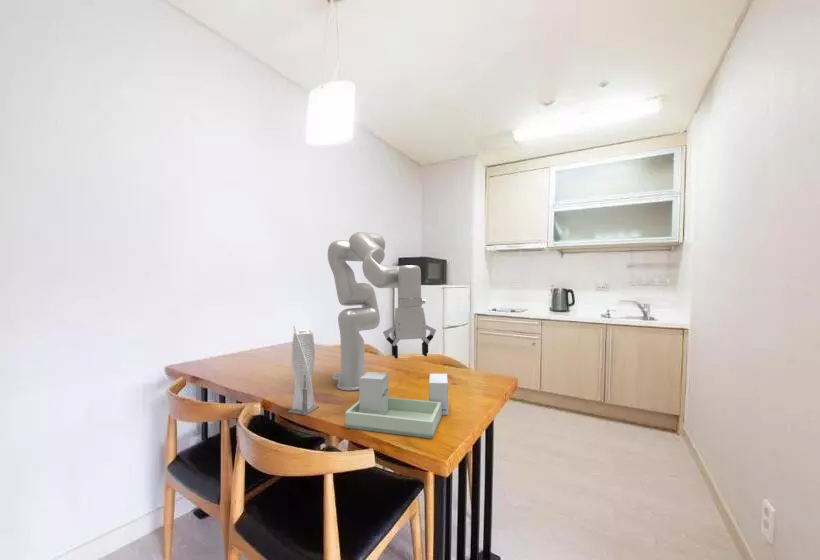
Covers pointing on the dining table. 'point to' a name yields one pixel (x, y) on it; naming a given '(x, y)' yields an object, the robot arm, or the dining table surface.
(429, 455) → the dining table surface
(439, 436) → the dining table surface
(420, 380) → the dining table surface
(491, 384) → the dining table surface
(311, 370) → the skyscraper
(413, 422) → the tray
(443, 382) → the skincare box
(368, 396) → the supplement box
